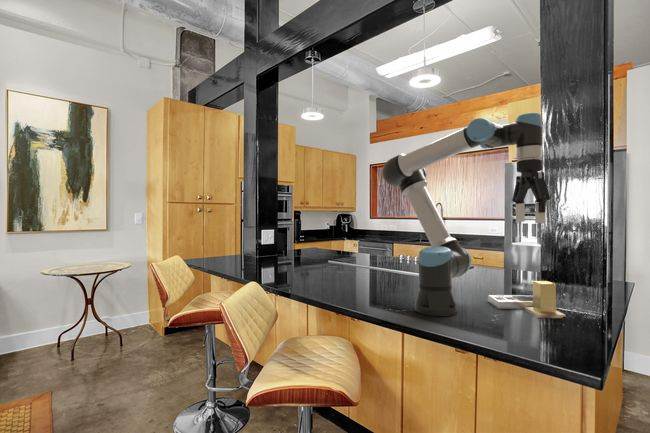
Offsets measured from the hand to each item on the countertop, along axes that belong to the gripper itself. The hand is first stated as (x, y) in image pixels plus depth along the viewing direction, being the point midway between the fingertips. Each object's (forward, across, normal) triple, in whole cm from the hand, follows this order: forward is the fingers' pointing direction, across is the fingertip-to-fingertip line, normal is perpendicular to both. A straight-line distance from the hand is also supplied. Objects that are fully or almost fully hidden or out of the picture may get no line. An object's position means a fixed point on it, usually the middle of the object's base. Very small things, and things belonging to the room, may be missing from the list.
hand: (529, 222), depth 116 cm
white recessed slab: (+33, +14, -2) cm, 36 cm away
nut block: (+31, +3, -6) cm, 32 cm away
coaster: (+33, +3, -6) cm, 33 cm away
